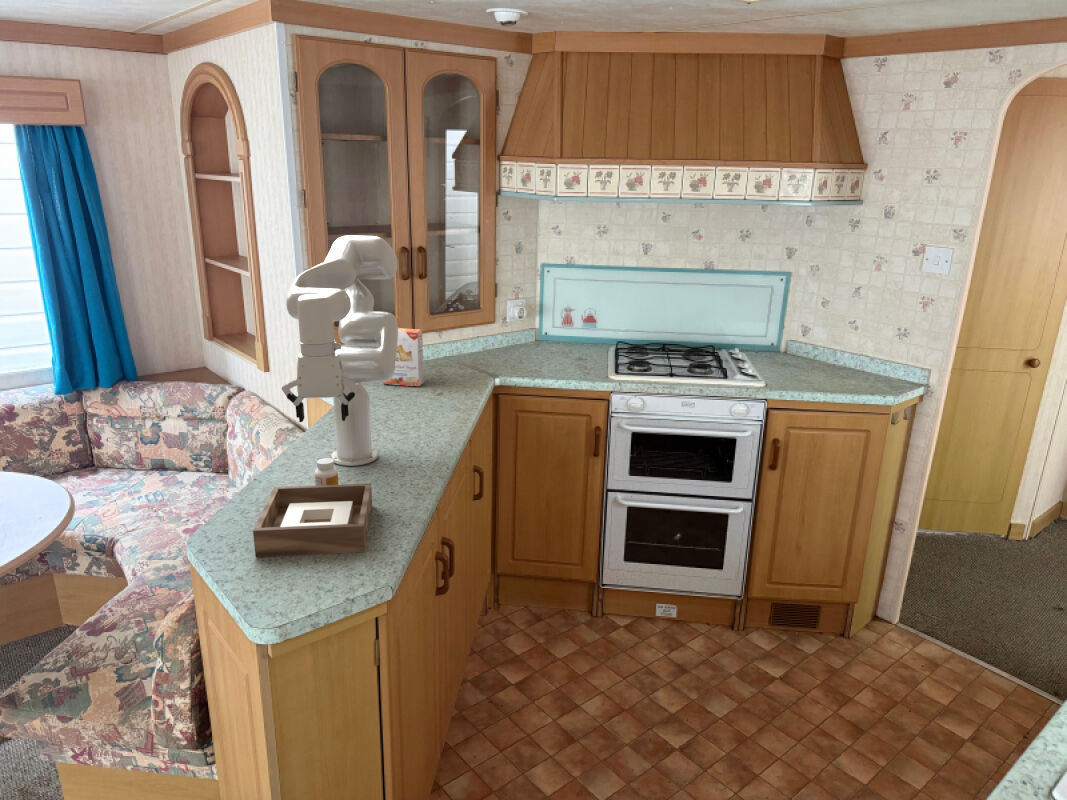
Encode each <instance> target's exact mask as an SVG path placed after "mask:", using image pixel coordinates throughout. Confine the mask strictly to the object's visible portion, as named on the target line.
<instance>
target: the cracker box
mask: <svg viewBox="0 0 1067 800" xmlns="http://www.w3.org/2000/svg"><path fill="white" fill-rule="evenodd" d="M423 343H424V342H423V329H417V328H416V329H415V328H404V327H402V328H401V327H398V341H397V350H396V360H395V369H394V374H393V377H392V378H391V379H390V380H389V381H387V382H382V384H383V383H384V384H400V385H413V386H419V385H420V384H421V383H422V382H423V383H424V351H423V350H424V349H423V347H424V346H423V345H424V344H423Z"/></svg>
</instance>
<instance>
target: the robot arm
mask: <svg viewBox="0 0 1067 800" xmlns="http://www.w3.org/2000/svg"><path fill="white" fill-rule="evenodd" d="M398 264H399V263H398V257H397V254H396V253H395V251H394V249H393V248H392V246H391V245H390V244H389V243H388V242H387V240H385V239H384V238H383V237H379V236H374V235H343V236H340V237H337V238H336V240H335V241H333V243H332V245H331V248H330V250H329V252H328V254H327V256H326V257H325V260H324V261H323V262H321V263H320V264H317V265H314V266H313V267H311V268H309V269H307V270H304V271H303V272H301V273H300V274H298V276H296V278H295V279H294V280H293V282H292V284H291V286H290V288H289V291H288V294H287V296H286V303H285V305H286V310H287V312H288V315H289V316H290V317H292V318H293V319H295V320H298V330H299V331H298V333H299V334H298V335H299V345H300V353H298V356H297V366H296V378H295V379H293V380H291V381H289V382H287V383H285V384H283V385H282V386H281V390H282V392H283V394H284V395H285V396H286V398H287V400H288V401H290V402H291V403H292V404H293V405H294V406H295V414H296V418H298V420H299V421H298V422H299V423H303V422H304V419H305V407H304V402H303V400H305V399H320V398H321V399H327V398H328V399H329V398H332V400H333V402H332V403H333V415H334V416H333V417H334V433H335V444H336V449H335V450H334V451H333V452H332V453H331V455H330V458H331V459H333V460H334V464H336V465H339V466H346V467H347V466H348V467H350V466H351V467H353V466H354V467H355V466H363V465H366V464H370V463H373V462H374V461H375V460H376V459H378V457H379V456H378V455H379V454H378V453H379V451H377V450H376V449H375V448H373V446H372V445H373V444H372V442H373V441H372V424H371V423H372V421H371V403H370V401H371V400H370V395H369V392H368V390H367V389H366V388H365V386H364V384H362V383H383V382H387V381H389V380H390V379H391V378H392V377H393V374H394V369H395V360H396V350H397V341H398V328H399V324H398V319H397V318H396V316H395V315H394V314H393V313H391V312H387V311H375V310H374V306H375V299H374V296H373V294H372V292H371V291H370V290H369V289H368V287H366V285H364V283H362V281H361V280H381V281H383V280H386V281H387V280H391V279H393V278H395V276H396V274H397V271H398V268H399V267H398V266H399V265H398ZM334 322H339V323H338V329H337V330H338V333H337V334H338V338H339V341H341V342H340V343H338V342H336V339H335V327H334ZM342 343H343V344H344V345H342ZM295 387H297V394H298V395H295V394H294V393H293V392H292V390H291V389H293V388H295Z"/></svg>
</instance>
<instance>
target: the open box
mask: <svg viewBox="0 0 1067 800" xmlns="http://www.w3.org/2000/svg"><path fill="white" fill-rule="evenodd" d="M341 501H353V514H352V519H351V523H350V524H339V525H315V526H292V527H280V526H281V524H282V521H283V519H284V516H285V514H286V512H287V509H288V507H289V504H290V503H315V502H341ZM372 510H373V493H372V483H349V484H348V483H345V484H341V483H340V484H339V485H315V484H314V485H295V486H294V485H289V486H273V488H272V490H271V492H270V495H269V497H268V498H267V501H266V503H265V505H264V507H263V509H262V511H261V513H260V516H259V518H258V519H257V521H256V524H255V526H254V527H253V529H252V534H253V543H254V553H255V557H256V558H264V557H265V558H266V557H282V556H284V557H287V556H305V555H306V556H307V555H310V556H311V555H327V554H346V553H347V554H350V553H351V554H353V553H365V552H366V547H367V542H368V536H367V535H369V529H370V524H369V523H370V522H371V516H372ZM315 522H331V519H316V520H305V521H304V523H315ZM366 541H367V542H366Z"/></svg>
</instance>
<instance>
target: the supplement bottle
mask: <svg viewBox="0 0 1067 800" xmlns="http://www.w3.org/2000/svg"><path fill="white" fill-rule="evenodd" d="M338 471H339V470H338V469H337V468H336V467H335V463H334V460H333V459H331V457H324V458H320V459H318V460H317V461H316V469H315V471H314V483H315V484H314V485H340V483H339V472H338Z"/></svg>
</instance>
